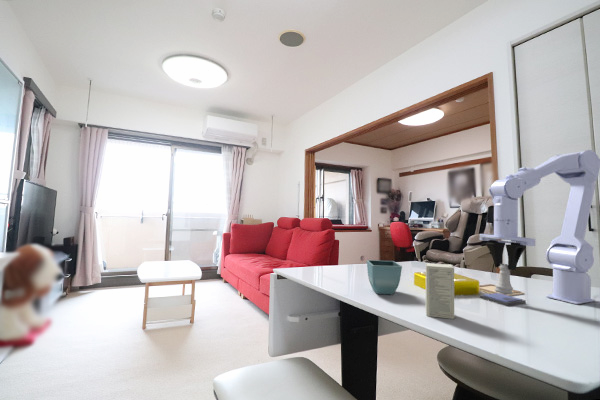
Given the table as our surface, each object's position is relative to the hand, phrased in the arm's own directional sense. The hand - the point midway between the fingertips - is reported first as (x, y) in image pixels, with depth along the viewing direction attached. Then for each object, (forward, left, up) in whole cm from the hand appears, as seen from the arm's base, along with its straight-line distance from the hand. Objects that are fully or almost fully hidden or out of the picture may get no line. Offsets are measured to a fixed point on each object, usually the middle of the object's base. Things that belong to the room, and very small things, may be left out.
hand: (505, 268), depth 88 cm
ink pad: (0, -1, -9) cm, 9 cm away
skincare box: (+28, +2, -10) cm, 29 cm away
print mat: (-9, -9, -9) cm, 16 cm away
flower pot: (+28, -19, -10) cm, 35 cm away
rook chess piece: (+1, 0, -7) cm, 7 cm away
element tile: (+5, -16, -10) cm, 20 cm away
